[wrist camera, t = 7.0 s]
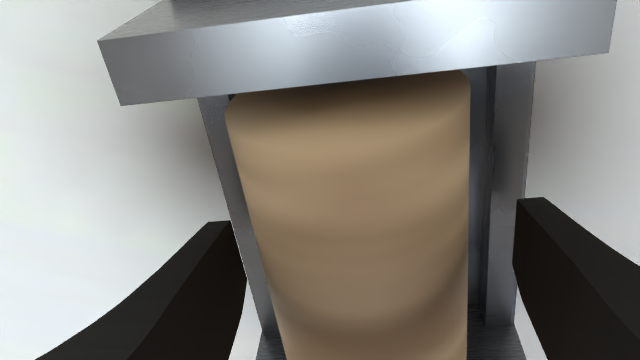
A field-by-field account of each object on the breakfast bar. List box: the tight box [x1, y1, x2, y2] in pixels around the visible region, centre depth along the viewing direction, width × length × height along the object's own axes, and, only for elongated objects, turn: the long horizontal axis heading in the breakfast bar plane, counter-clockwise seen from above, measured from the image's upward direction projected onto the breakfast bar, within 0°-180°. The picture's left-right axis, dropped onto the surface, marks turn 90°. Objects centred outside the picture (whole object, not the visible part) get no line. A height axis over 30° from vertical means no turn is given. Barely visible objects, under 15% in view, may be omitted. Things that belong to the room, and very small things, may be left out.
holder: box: [97, 0, 617, 360], centre depth 13 cm, size 14×9×6 cm, turn 8°
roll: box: [224, 69, 470, 360], centre depth 13 cm, size 8×5×5 cm, turn 8°
